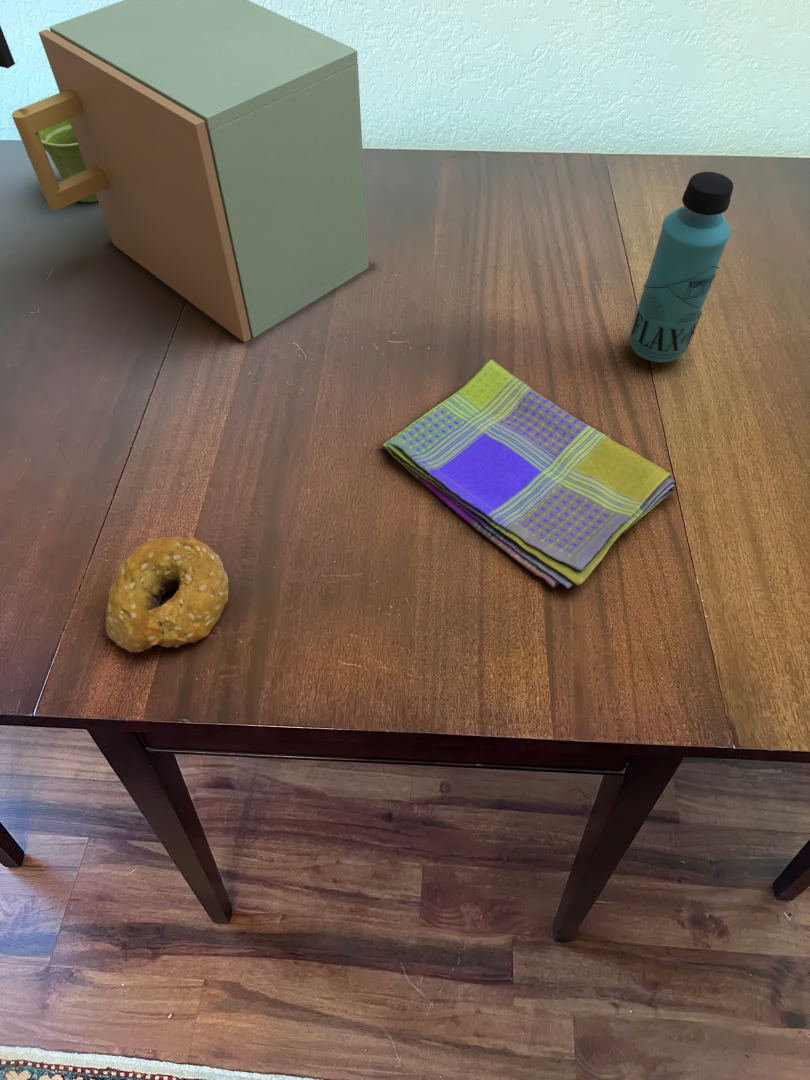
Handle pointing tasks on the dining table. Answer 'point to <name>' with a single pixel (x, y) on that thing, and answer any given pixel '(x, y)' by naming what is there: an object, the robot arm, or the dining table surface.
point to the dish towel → (530, 475)
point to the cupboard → (256, 133)
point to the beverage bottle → (682, 269)
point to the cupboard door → (140, 177)
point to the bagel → (151, 576)
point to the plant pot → (64, 151)
